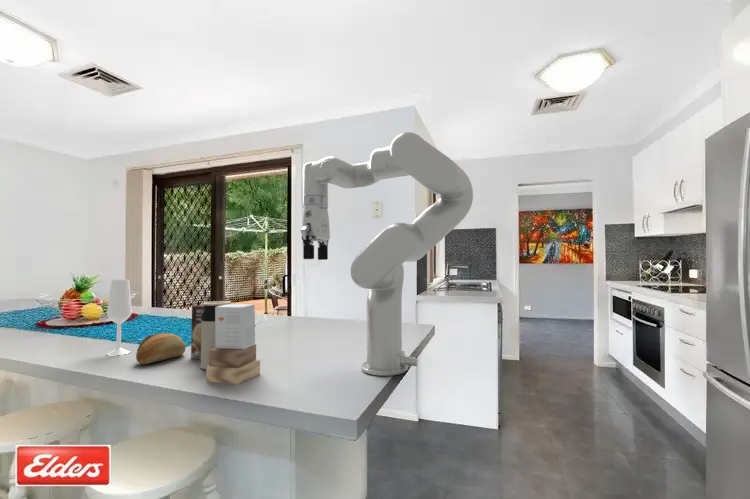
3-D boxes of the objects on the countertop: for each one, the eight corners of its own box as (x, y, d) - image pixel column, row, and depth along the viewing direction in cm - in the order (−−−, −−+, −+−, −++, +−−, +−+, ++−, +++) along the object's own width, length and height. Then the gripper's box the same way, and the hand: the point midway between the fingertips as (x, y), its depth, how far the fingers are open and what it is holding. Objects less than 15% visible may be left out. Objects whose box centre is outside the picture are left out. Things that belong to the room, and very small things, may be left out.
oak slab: (259, 375, 93) (260, 359, 93) (236, 386, 84) (236, 369, 84) (231, 372, 95) (231, 357, 96) (206, 382, 87) (206, 366, 87)
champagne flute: (125, 355, 113) (127, 280, 114) (101, 356, 111) (103, 280, 113) (134, 350, 119) (136, 279, 121) (112, 351, 118) (114, 279, 119)
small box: (255, 344, 93) (255, 304, 93) (244, 349, 87) (244, 306, 87) (227, 343, 94) (227, 303, 94) (214, 348, 88) (214, 306, 89)
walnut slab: (256, 359, 93) (256, 344, 93) (238, 368, 85) (238, 351, 86) (228, 358, 95) (229, 342, 95) (209, 366, 87) (209, 349, 87)
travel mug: (194, 368, 98) (195, 303, 99) (218, 361, 105) (218, 300, 106) (214, 372, 94) (215, 304, 95) (237, 364, 101) (238, 301, 102)
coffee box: (189, 358, 109) (190, 305, 109) (205, 353, 115) (206, 303, 116) (213, 360, 106) (213, 306, 106) (228, 355, 112) (229, 304, 113)
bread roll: (124, 365, 101) (125, 337, 102) (168, 353, 116) (169, 328, 116) (151, 368, 99) (151, 339, 99) (192, 355, 113) (193, 330, 113)
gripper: (314, 197, 99) (314, 258, 98) (337, 207, 116) (338, 259, 115) (290, 199, 101) (290, 259, 100) (316, 208, 118) (317, 260, 117)
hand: (316, 259), depth 108 cm, fingers open, 9 cm apart
